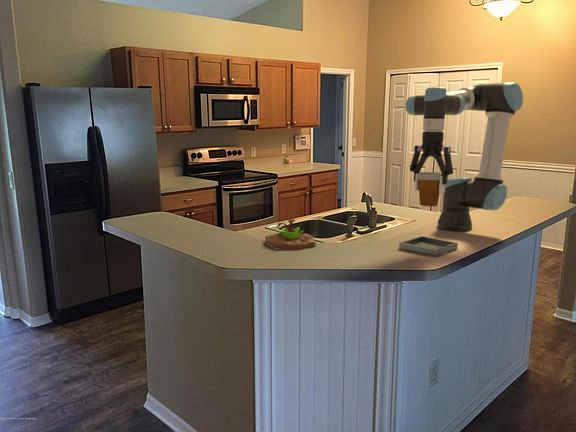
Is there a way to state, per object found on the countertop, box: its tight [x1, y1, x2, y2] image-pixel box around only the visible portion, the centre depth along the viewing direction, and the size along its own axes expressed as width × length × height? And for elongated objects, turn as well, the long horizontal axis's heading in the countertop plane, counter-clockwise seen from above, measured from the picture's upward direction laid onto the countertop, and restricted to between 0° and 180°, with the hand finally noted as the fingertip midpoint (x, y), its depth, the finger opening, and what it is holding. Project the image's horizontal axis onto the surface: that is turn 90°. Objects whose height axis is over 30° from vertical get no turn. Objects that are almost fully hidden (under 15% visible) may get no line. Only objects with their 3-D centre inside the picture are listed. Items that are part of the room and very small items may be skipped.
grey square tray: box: [398, 235, 459, 258], centre depth 183 cm, size 16×16×2 cm
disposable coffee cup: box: [417, 171, 442, 208], centre depth 180 cm, size 10×10×12 cm
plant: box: [264, 217, 317, 250], centre depth 191 cm, size 20×20×11 cm
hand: (429, 191), depth 180 cm, fingers closed on disposable coffee cup, 9 cm apart
